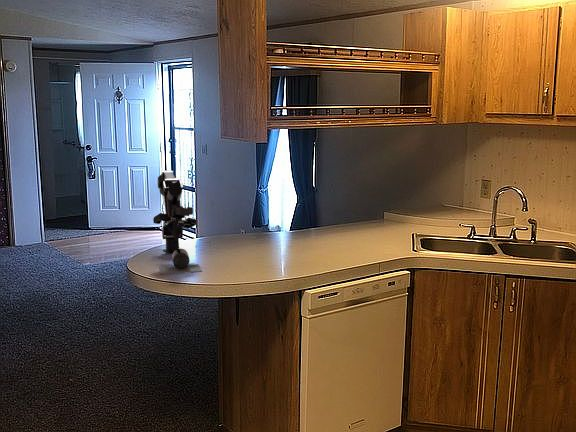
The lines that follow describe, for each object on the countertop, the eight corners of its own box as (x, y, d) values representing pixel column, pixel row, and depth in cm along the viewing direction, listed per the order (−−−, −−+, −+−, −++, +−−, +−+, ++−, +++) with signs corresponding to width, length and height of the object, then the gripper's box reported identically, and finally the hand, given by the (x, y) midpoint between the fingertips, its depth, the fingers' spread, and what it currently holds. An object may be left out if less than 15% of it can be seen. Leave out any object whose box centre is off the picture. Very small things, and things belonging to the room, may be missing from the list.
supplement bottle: (169, 252, 261) (170, 259, 249) (184, 245, 262) (185, 251, 250) (176, 267, 263) (177, 274, 251) (191, 259, 263) (193, 266, 252)
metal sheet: (159, 267, 258) (159, 266, 258) (198, 264, 262) (198, 264, 262) (161, 274, 248) (161, 273, 248) (202, 271, 252) (202, 270, 252)
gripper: (166, 195, 259) (169, 230, 254) (202, 202, 272) (206, 236, 266) (151, 204, 266) (154, 239, 261) (187, 211, 279) (191, 244, 274)
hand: (177, 239), depth 265 cm, fingers closed
